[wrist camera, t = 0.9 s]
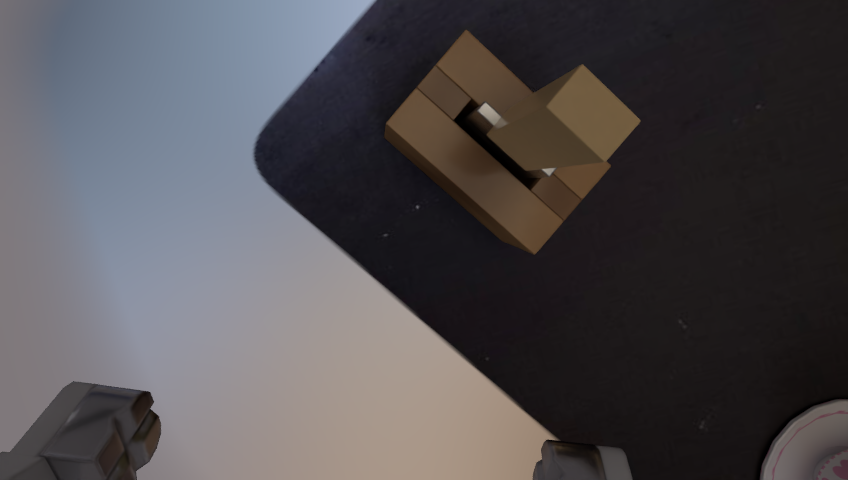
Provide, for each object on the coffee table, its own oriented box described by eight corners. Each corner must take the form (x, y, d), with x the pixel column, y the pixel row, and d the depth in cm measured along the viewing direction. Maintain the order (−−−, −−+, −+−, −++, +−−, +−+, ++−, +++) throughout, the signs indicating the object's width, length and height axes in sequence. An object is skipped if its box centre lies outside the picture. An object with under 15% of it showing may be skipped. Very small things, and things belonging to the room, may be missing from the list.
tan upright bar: (440, 140, 32) (519, 82, 14) (457, 120, 32) (557, 38, 14) (492, 186, 33) (629, 186, 15) (508, 167, 33) (665, 143, 15)
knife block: (383, 137, 32) (385, 123, 25) (446, 63, 32) (466, 28, 25) (501, 241, 33) (534, 255, 26) (562, 170, 33) (612, 165, 26)
